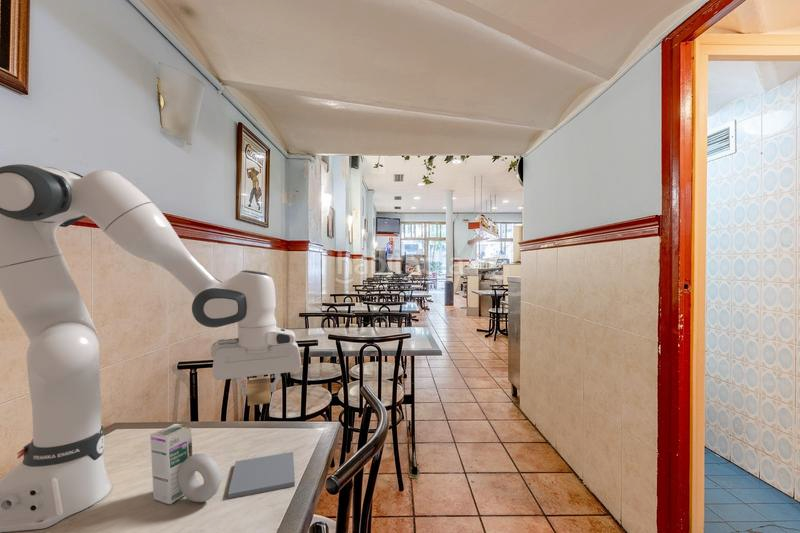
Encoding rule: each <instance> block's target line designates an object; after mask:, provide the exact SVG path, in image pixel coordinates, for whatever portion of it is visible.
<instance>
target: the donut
mask: <svg viewBox="0 0 800 533" xmlns="http://www.w3.org/2000/svg"><path fill="white" fill-rule="evenodd" d="M196 472H198V473H199V474H200V475H201V477H202V479H203V483H201V482H200V481H199V480H198V478H197V477H196ZM221 482H222V474H221V470H220V466H219V465H218V463H217V462H216V461H215V459H214V458H212V457H211V456H209V455H208V454H205V453H195V454H192V456H190V457H188V458H187V459H186V460H185V461H184V462H183V463H182V464H181V466H180V469H179V471H178V485H179V487H180V490H181V492H182V493H183V495H184V496H183V497H185V498H187V499H188V500H189V501H192V502H194V503H205V502H206V501H208V500H211V499H212V498H213V497H214V496H215V495H216V494H217V493H218V491H219V489H220V486H221Z"/></svg>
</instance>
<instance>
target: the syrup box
mask: <svg viewBox="0 0 800 533" xmlns="http://www.w3.org/2000/svg"><path fill="white" fill-rule="evenodd" d="M149 436H150V438H149V439H150V452H151V453H150V455H151V472H152V473H151V474H152V490H153V492H152V493H153V494H152V495H153V499H154V500H156V501H159V502H161V503H162V504H163V503H164V504H167V505H172V504H173V503H174V502H177V501H178V500H179V499H181V498H183V497H185V496H184V495H183V493H182V492H181V490H180V487H179V485H178V471H179V469H180V466H181V464H182V463H183V462H184V461H185V460H186V459H187V458H188V457H190V456H192V455H193V440H192V439H193V438H192V436H193V434H192V427H191V426H189V425H186V424H180V423H174V424H172V425H170V426H168V427H165V428H163V429H160V430H158V431H156V432H152V433H151V434H150V435H149Z"/></svg>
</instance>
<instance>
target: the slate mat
mask: <svg viewBox="0 0 800 533" xmlns="http://www.w3.org/2000/svg"><path fill="white" fill-rule="evenodd" d="M294 461H295V460H294V451H291V452H283V453H277V454H272V455H271V454H270V455H266V456H260V457H254V458H253V457H252V458H248V459H242V460H236V461H235V464H234V467H233V471H232V476H231V480H230V485H229V488H228V493H227V499H234V498H239V497H243V496H244V497H245V496H248V495H249V496H250V495H254V494H259V493H261V494H262V493H265V492H270V491H276V490H281V489H286V488H291V487H295V485H296V482H295V480H296V479H295V465H294V464H295V463H294Z"/></svg>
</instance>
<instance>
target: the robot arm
mask: <svg viewBox="0 0 800 533" xmlns="http://www.w3.org/2000/svg"><path fill="white" fill-rule="evenodd" d="M84 218H88V219H89V220H91V221H92V222H93V223H94V224H96V226H97V227H98V228H100V229H101V231H102V232H104V234H105V235H106V236H108V237H109V238H110V239H111V241H113V242H114V243H115V244H117V245H118V246H119V247H121V248H122V249H123V250H125V251H126V252H127V253H129V254H130V255H132V256H133V257H136V258H139V259H143V260H145V261H148V262H151V263H153V264H155V265H158V266H159V267H161V268H163V269H165V270H166V271H167V272H169V273H170V274H171V275H172V276H173V277H174V278H175V279H177V281H178V282H180V283H181V284H182V285H183V286H184V287H185V288H186V289H187V290H188V291H189V292H190V293H191V294H192V296H193V297H194V299H193V301H192V305H191V311H192V312H191V313H192V315H193V318H194V320H195V321H197V323H198V324H200V325H202V326H204V327H208V328H215V329H216V328H222V327H225V326H228V325H232V324H235V323H236V324H237V338H236V337H235V338H229V339H224V338H223V339H218V340H216V341H215V342H213V344H211V345H210V346H211V347H210V355H211V357H212V358H213V362H212V363H213V364H212V372H211V373H212V374H211V375H212V378H213V379H215V381H221V380H223V381H224V380H230V379H231V380H232V379H235V380H236V384H237V386H238V387H239V388H240V389H241V396H247V385H245V384H244V383H243V380H244V378H251V377H258V376H259V377H260V376H266V375H268V376H269V375H274V380H273V382H270V392H271V393H275V392H277V385H278V382H279V381H280V379H281V376H282V375H281V374H285V373H293V372H299V371H300V370H301V368H302V358H301V352H300V348H299V347H300V346H299V345H298V343H297V341H296V333H295V332H294V330H292V329H287V328H281V327H278V326H277V319H276V316H275V311H276V307H277V300H276V299H277V297H276V288H275V283H274V279H273V278H272V276H271V275H270V274H268V273H266V272H262V271H257V270H249V269H248V270H247V269H245V270H241V271H239V272H238V273H237V274H236V275H234V276H232V277H231V278H228V279H226V280H224V281H221V280H219V279H217V278H215V276H213V274H211V273H210V272H209V271H208V270H207V269H206V268H205V267H204V266H203V265H202V264H201V263H200V262H199V261H198V260H197V259H196V258H195V257H194V256H193V255H192V254H191V252H189V250H188V249H187V247H186V246H185V244H184V243H183V242H182V241H181V238H180V237H179V235H178V234H177V232H176V230H175V229H174V228H173V226H172V224H171V223H170V221H169V220H168V219H167V216H165V215H164V214H163V212H162V211H161V210H160V209H159V207H158V206H157V205H156V204H154V202H153V201H152V200H151V199H150V198H149V197H148V196H147V195H146V194H145V193H144V192H142V191H141V189H139V188H138V187H137V186H136V185H135V184H133V183H132V182H131V181H129V180H128V179H126V178H125V177H124V176H123V175H121V174H120V173H118V172H116V171H114V170H109V169H100V170H99V169H98V170H95V171H92V172H89V173H87V174H86V175H81V174H79V173H76V172H74V171H67V170H64V169H60V168H56V167H51V166H39V165H37V166H34V165H30V164H22V163H21V164H20V163H19V164H17V163H16V164H8V165H4V166H0V292H1V295H2V297H3V299H4V301H5V303H6V305H7V307H8V309H9V310H10V311H11V313H12V314H13V316H14V317H15V318H16V319H17V322H18V323H19V325H20V326H21V328H22V330H23V331H24V333H25V335H26V336H27V338H28V340H29V343H30V344H29V345H28V347H27V350H26V366H27V369H26V370H27V378H28V386H29V394H30V395H29V396H30V400H31V410H32V411H31V412H32V439H31V442H29V443H27V444H25V445H24V446H23V448H22V449H21V450H20V451H19V452H17V453H16V455H18V456H17V457H16V459H20V458H22V457H23V459H22V462H20V463H19V464H17V465H16V466H15V467H14V468H13V469H11V470H10V471H8V473H6V474H5V475H4V476H3V477H1V478H0V533H9V532H18V531H29V530H30V531H32V530H41V529H46V528H49V527H51V526H54V525H55V524H57V523H59V522H61V521H62V520H63V519H66V518H68V517H70V516H73V515H74V514H76V513H79V512H81V511H83V510H85V509H87V508H89V507H91V506H93V505H95V504H96V503H98V502H99V501H100V500H102V499H104V497H106V496H107V495H109V493H110V492H111V490H112V487H113V484H112V482H111V480H110V477H109V475H108V471H107V468H106V463H105V458H104V452H105V445H106V444H105V442H106V441H105V432H104V429H105V428H104V426H102V409H101V408H102V407H101V403H102V402H101V399H102V398H101V375H100V374H101V371H100V336H99V333H98V330H97V328H96V326H95V324H94V322H93V320H92V317H91V315H90V312H89V311H88V308H87V306H86V304H85V301H84V300H83V297H82V296H81V293H80V291H79V289H78V286H77V285H76V282H75V280H74V278H73V274H72V273H71V270H70V268H69V266H68V263H67V261H66V258H65V256H64V254H63V251H62V249H61V247H60V245H59V242H58V239H57V229H58V228H59V227H61V228H67V227H69V226H71V225H73V224H74V223H77V222H78V221H80V220H82V219H84Z"/></svg>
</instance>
